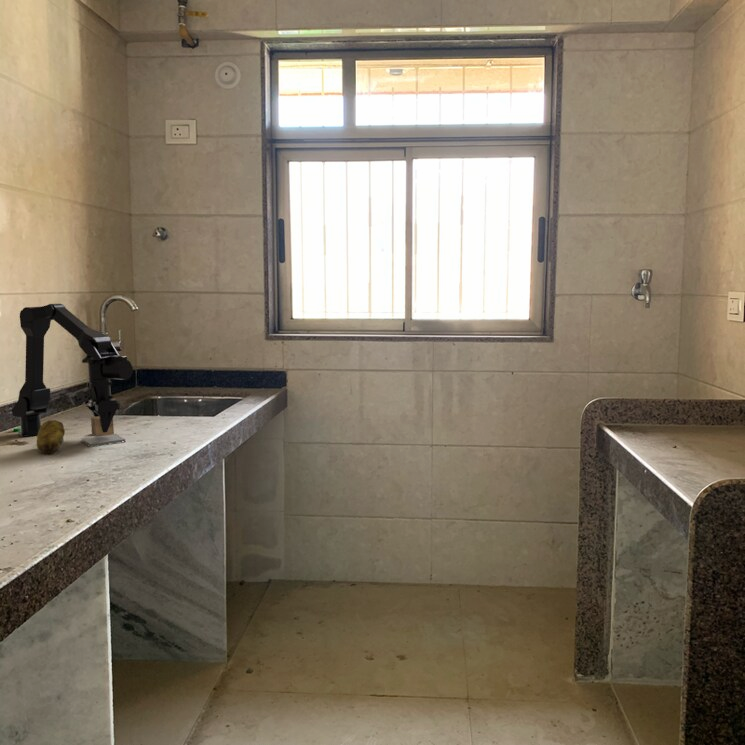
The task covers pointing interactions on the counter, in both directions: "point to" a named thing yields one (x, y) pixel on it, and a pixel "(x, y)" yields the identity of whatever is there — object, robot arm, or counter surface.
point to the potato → (50, 436)
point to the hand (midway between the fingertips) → (102, 430)
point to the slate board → (102, 440)
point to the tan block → (100, 427)
